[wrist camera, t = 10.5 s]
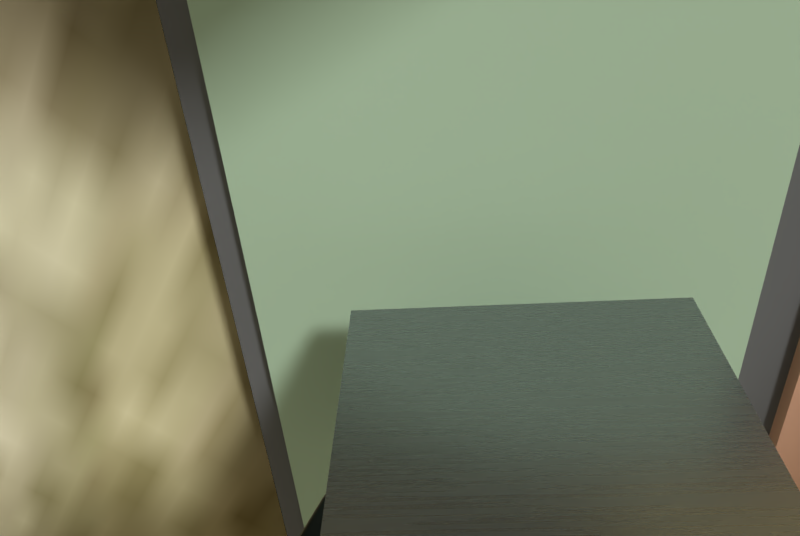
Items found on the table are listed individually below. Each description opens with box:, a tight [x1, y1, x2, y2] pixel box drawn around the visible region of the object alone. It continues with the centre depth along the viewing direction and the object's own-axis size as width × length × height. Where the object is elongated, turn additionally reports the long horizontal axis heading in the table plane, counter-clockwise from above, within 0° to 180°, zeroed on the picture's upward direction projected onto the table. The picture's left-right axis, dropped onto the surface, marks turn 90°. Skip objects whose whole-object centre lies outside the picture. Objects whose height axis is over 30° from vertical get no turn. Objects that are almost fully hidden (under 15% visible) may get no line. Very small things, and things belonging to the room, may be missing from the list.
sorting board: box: [156, 0, 800, 536], centre depth 12 cm, size 18×16×1 cm
